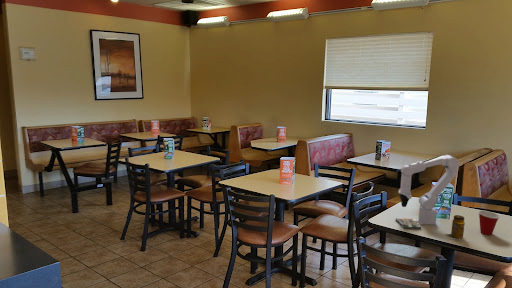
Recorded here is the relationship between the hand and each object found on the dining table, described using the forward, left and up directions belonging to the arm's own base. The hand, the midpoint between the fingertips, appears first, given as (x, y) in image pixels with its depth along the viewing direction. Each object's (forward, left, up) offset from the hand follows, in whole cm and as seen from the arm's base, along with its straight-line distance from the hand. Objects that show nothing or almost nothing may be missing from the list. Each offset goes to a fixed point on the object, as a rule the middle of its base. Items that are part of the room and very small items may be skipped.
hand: (403, 206), depth 241 cm
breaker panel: (-1, +6, -9) cm, 11 cm away
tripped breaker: (+2, +10, -8) cm, 13 cm away
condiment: (-21, +23, -10) cm, 33 cm away
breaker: (-3, +10, -7) cm, 13 cm away
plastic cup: (-42, +17, -10) cm, 46 cm away
